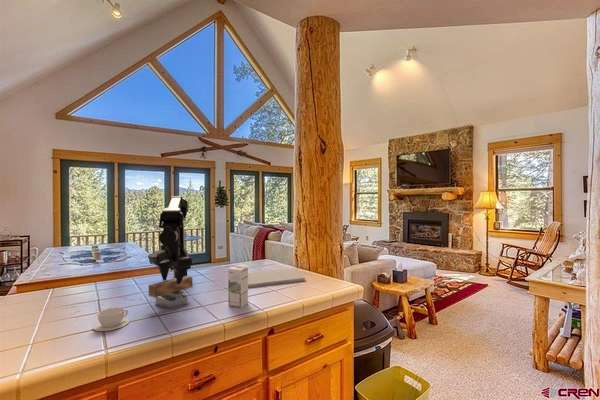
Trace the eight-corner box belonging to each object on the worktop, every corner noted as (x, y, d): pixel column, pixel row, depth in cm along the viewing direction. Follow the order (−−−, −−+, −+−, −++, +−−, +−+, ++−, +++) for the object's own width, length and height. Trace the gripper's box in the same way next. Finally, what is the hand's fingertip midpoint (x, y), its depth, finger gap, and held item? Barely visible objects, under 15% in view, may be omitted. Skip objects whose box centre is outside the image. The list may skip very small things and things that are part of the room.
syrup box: (248, 302, 117) (248, 266, 117) (240, 308, 112) (240, 269, 112) (235, 301, 119) (235, 265, 119) (227, 306, 114) (227, 268, 114)
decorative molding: (304, 286, 150) (296, 276, 159) (305, 277, 148) (297, 268, 157) (235, 295, 136) (231, 283, 145) (236, 285, 135) (232, 274, 144)
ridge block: (155, 304, 116) (155, 291, 116) (172, 298, 122) (172, 286, 122) (170, 309, 110) (170, 295, 110) (187, 303, 116) (187, 290, 116)
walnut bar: (186, 285, 124) (186, 275, 124) (192, 286, 122) (192, 277, 122) (148, 295, 111) (148, 284, 111) (154, 297, 108) (154, 286, 108)
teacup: (102, 335, 90) (102, 319, 90) (86, 327, 95) (86, 313, 95) (135, 323, 98) (135, 309, 98) (119, 317, 104) (119, 303, 104)
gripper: (137, 242, 114) (137, 283, 114) (166, 246, 104) (166, 291, 104) (164, 239, 124) (164, 276, 124) (193, 242, 113) (193, 284, 113)
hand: (171, 282), depth 116 cm, fingers open, 9 cm apart
